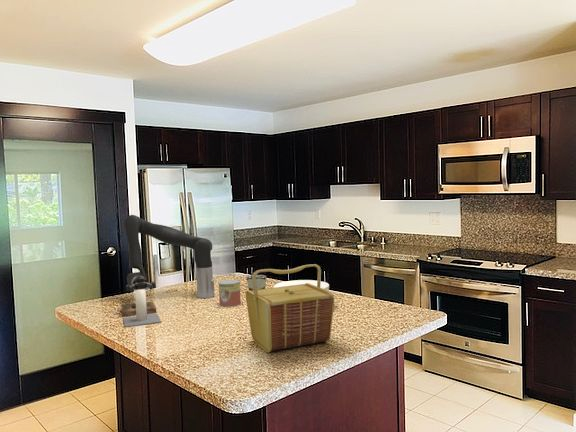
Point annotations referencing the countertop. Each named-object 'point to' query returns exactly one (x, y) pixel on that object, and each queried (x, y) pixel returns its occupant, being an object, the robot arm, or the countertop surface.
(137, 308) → the cream cylinder
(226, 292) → the canned food
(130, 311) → the walnut holder
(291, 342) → the picnic basket
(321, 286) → the plate stack
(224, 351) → the countertop surface
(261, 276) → the food container
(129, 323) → the grey mat
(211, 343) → the countertop surface
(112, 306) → the countertop surface
